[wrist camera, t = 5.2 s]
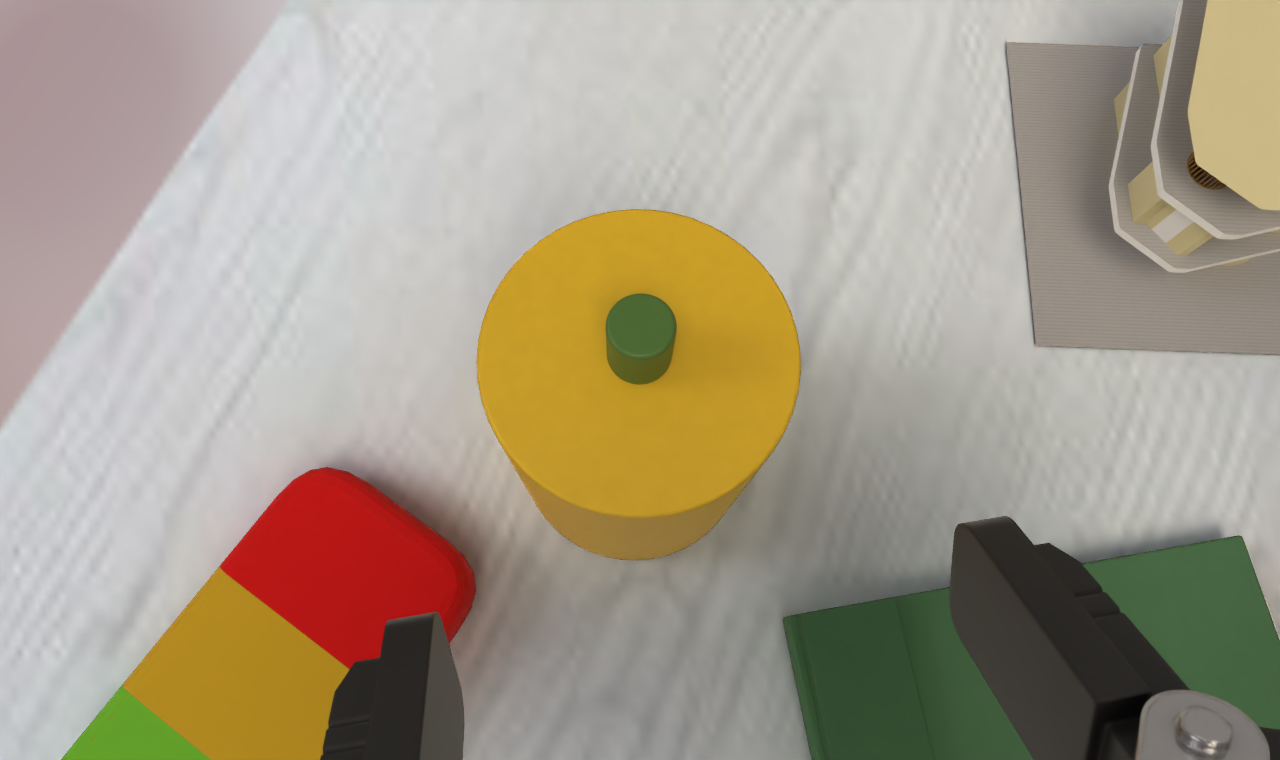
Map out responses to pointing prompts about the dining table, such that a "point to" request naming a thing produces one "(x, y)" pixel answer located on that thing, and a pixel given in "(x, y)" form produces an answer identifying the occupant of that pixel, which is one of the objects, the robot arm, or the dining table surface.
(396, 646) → the robot arm
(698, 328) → the yellow cylinder with peg
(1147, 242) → the stacked layers on plate
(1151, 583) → the green notebook
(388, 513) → the popsicle
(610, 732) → the dining table surface
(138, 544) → the dining table surface
